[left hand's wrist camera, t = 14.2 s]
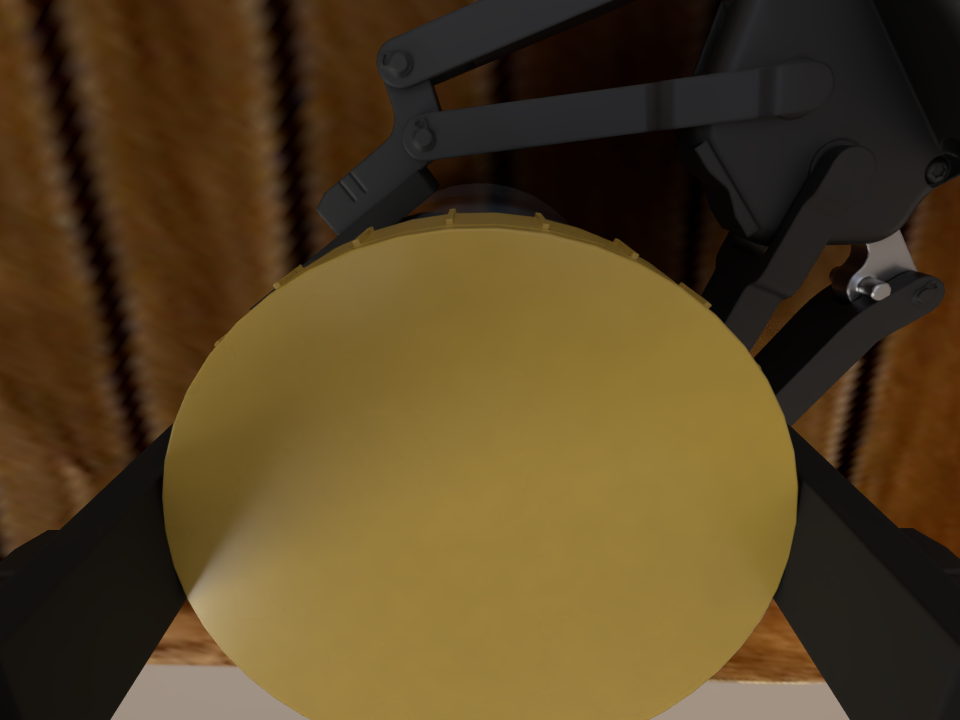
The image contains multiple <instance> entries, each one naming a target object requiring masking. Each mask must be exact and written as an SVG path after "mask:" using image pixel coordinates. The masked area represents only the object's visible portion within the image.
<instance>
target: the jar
mask: <svg viewBox="0 0 960 720" xmlns="http://www.w3.org/2000/svg"><path fill="white" fill-rule="evenodd" d="M450 209H456V213H504V214H512V215H521V216H530V217H535V213H541V214H542V215H543V217H544V218H545V219H546V220H550V221H553V222H557V223H561V224H565V225H569V226H571V225H570V224H569V223H568V222H567V221H566V220H565V219H564V218H563V217H562V216H561V215H560V214H559V213H558V212H557V211H556V210H554V209H553V208H552V207H550V206H549V205H548V204H547V203H545V202H543V201H541V200H540V199H538V198H536V197H535V196H533V195H530V194H528V193H526V192H523V191H521V190H518V189H515V188H511V187H507V186H503V185H496V184H488V183H475V184H464V185H457V186H452V187H449V188H445V189H442V190H439V191H436V192H435V193H434V194H433V195H431V196H430V197H429V198H428V199H426V200H425V201H424V202H423V203H421V204H420V205H419V206H418V207H417V208H415V209H414V210H413V211H412V212H410V213H409V214H408V215H407V216H405V217H404V218H403V219H402V220H400V221H399V222H398V223H397V224H399V223H402V222H406V221H409V220H413V219H420V218H426V217H433V216H439V215H446V214H448V213H449V210H450Z"/></svg>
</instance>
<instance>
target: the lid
mask: <svg viewBox="0 0 960 720" xmlns="http://www.w3.org/2000/svg"><path fill="white" fill-rule="evenodd" d="M273 287H274V288H275V289H276V290H274V291H273V292H272V293H270V294H269V295H268V296H267V297H266V298H265V299H263V300H262V301H261V302H260V303H259V304H258V305H256V306H255V307H254V308H253V309H252V310H251V311H249V312H248V313H247V314H246V315H245V316H244V317H243V318H241V319H240V320H239V321H238V322H237V323H236V324H235V325H234V326H233V327H232V328H231V330H230V331H229V332H228V333H227V334H225V335H224V336H223V337H222V338H220V339H219V340H218V341H217V342H216V343H215V345H214V346H215V348H214V349H213V351H212V352H211V353H210V354H209V355H208V357H207V359H206V360H205V362H204V364H203V365H202V367H201V368H200V370H199V372H198V373H197V375H196V377H195V378H194V380H193V381H192V383H191V385H190V386H189V388H188V390H187V392H186V395H185V397H184V399H183V402H182V404H181V407H180V409H179V412H178V414H177V416H176V419H175V421H174V424H173V427H172V431H171V436H170V440H169V444H168V449H167V453H166V457H165V462H164V477H163V492H162V502H163V513H164V524H165V531H166V536H167V540H168V544H169V548H170V553H171V557H172V561H173V565H174V568H175V570H176V573H177V575H178V578H179V580H180V582H181V585H182V587H183V590H184V592H185V594H186V597H187V599H188V601H189V602H190V604H191V606H192V607H193V609H194V611H195V612H196V614H197V616H198V617H199V619H200V621H201V623H202V624H203V626H204V627H205V629H206V630H207V631H208V633H209V634H210V635H211V636H212V638H213V639H214V640H215V642H216V643H217V644H218V645H219V647H220V648H221V649H222V651H223V652H224V653H225V654H226V655H227V656H228V657H229V658H230V659H231V660H232V661H233V662H234V663H235V664H236V665H237V666H238V667H239V668H240V669H241V670H242V671H243V672H244V673H245V674H246V675H247V676H248V677H249V678H250V679H252V680H253V681H254V682H255V683H257V684H258V685H259V686H260V687H262V688H263V689H264V690H265V691H267V692H268V693H269V694H270V695H272V696H273V697H274V698H276V699H277V700H279V701H280V702H282V703H284V704H285V705H287V706H288V707H290V708H291V709H293V710H295V711H296V712H298V713H300V714H301V715H303V716H304V717H306V718H308V719H310V720H649V719H651V718H653V717H655V716H657V715H659V714H661V713H663V712H665V711H666V710H668V709H669V708H670V707H672V706H673V705H675V704H677V703H678V702H679V701H681V700H682V699H684V698H685V697H687V696H688V695H690V694H691V693H693V692H694V691H695V690H696V689H698V688H699V687H700V686H701V685H702V684H704V683H705V682H706V681H707V680H708V679H709V678H711V677H712V676H713V675H714V674H715V673H717V672H718V671H719V670H720V669H721V668H722V667H723V666H724V665H725V663H726V662H727V661H728V660H729V659H730V658H731V657H732V656H733V655H734V654H735V653H736V652H737V651H738V650H739V648H740V647H741V646H742V645H743V644H744V642H745V641H746V640H747V638H748V637H749V635H750V634H751V633H752V631H753V630H754V629H755V627H756V626H757V624H758V623H759V622H760V620H761V619H762V617H763V615H764V613H765V612H766V610H767V608H768V606H769V604H770V602H771V600H772V599H773V597H774V595H775V593H776V591H777V589H778V587H779V584H780V581H781V579H782V576H783V573H784V570H785V568H786V565H787V562H788V558H789V554H790V549H791V545H792V540H793V536H794V531H795V527H796V522H797V504H798V481H797V472H796V463H795V454H794V449H793V445H792V441H791V438H790V434H789V431H788V427H787V423H786V420H785V416H784V414H783V411H782V409H781V407H780V405H779V403H778V401H777V398H776V396H775V394H774V392H773V390H772V388H771V386H770V383H769V381H768V379H767V378H766V376H765V375H764V373H763V372H762V370H761V367H760V366H759V364H757V363H756V361H755V360H754V359H753V357H752V356H751V354H750V353H749V351H748V350H747V348H746V347H745V345H744V344H743V343H742V342H741V341H740V340H739V339H738V338H737V337H736V336H735V335H734V334H733V332H732V331H731V330H730V329H729V328H728V327H727V326H726V325H725V324H724V323H723V322H722V321H721V320H720V319H719V317H718V316H717V315H716V314H714V313H713V312H712V311H711V310H709V308H710V307H711V306H712V305H711V304H710V303H709V302H708V301H706V300H705V299H704V298H702V297H701V296H700V295H698V294H697V293H696V292H694V291H693V290H691V289H690V288H689V287H687V286H686V285H685V284H683V283H682V282H681V283H680V284H679V285H678V284H677V283H675V282H674V281H673V280H671V279H670V278H669V277H667V276H666V275H665V274H663V273H662V272H661V271H660V270H658V269H657V268H656V267H654V266H653V265H652V264H650V263H649V262H647V261H645V260H644V259H642V258H640V257H639V254H637V253H636V252H635V251H634V250H632V249H631V248H630V247H628V246H627V245H626V244H624V243H623V242H622V241H620V240H619V239H616V238H615V240H614V241H613V242H612V241H609V240H607V239H604V238H602V237H599V236H597V235H594V234H592V233H589V232H587V231H585V230H582V229H580V228H577V227H573V226H569V225H565V224H561V223H557V222H553V221H550V220H546V219H545V218H544V217H543V215H542V214H541V213H535V217H530V216H521V215H512V214H504V213H456V209H450V210H449V213H448V214H446V215H439V216H433V217H426V218H420V219H413V220H409V221H406V222H402V223H399V224H396V225H392V226H389V227H386V228H382V229H379V230H375V231H374V228H373V227H370V228H367V229H366V230H365V231H364V232H363V233H362V234H360V235H359V236H358V237H357V238H356V239H354V240H352V241H350V242H348V243H346V244H343V245H341V246H339V247H337V248H335V249H333V250H332V251H330V252H328V253H327V254H325V255H324V256H322V257H321V258H319V259H317V260H316V261H314V262H313V263H311V264H310V265H308V266H306V267H305V268H303V267H302V265H299V266H298V267H297V268H295V269H294V270H293V271H291V272H290V273H288V274H287V275H286V276H284V277H283V278H282V279H280V280H279V281H278V282H276V283H275V284H274V285H273Z"/></svg>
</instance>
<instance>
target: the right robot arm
mask: <svg viewBox="0 0 960 720" xmlns="http://www.w3.org/2000/svg"><path fill="white" fill-rule="evenodd" d="M632 1H634V0H479V1H476V2H474V3H472V4H469V5H467V6H465V7H463V8H460V9H458V10H456V11H453V12H451V13H449V14H447V15H444V16H442V17H440V18H437V19H435V20H433V21H431V22H428V23H426V24H424V25H421V26H419V27H417V28H415V29H412V30H410V31H408V32H405V33H403V34H401V35H398V36H396V37H394V38H392V39H390V40H388V41H387V42H386V43H384V44H383V45H382V47H381V48H380V50H379V52H378V56H377V67H378V72H379V74H380V76H381V77H382V79H383V80H384V83H385V86H386V89H387V92H388V95H389V98H390V101H391V104H392V107H393V111H394V115H395V123H394V127H393V131H392V133H391V135H390V137H389V138H388V139H387V140H386V141H385V142H384V143H383V144H382V145H381V146H380V147H378V148H377V149H376V150H375V151H374V152H372V153H371V154H370V155H369V156H368V157H367V158H365V159H364V160H363V161H362V162H361V163H360V164H358V165H357V166H356V167H355V168H354V169H353V170H351V171H350V172H349V173H348V174H347V175H346V176H344V177H343V178H342V179H341V180H340V181H339V182H337V183H336V184H335V185H334V186H333V187H331V188H330V189H329V190H328V191H327V192H326V193H324V195H323V197H322V199H321V201H320V203H319V205H318V207H317V209H316V211H317V212H318V213H319V214H320V216H321V217H322V218H323V219H324V220H325V222H326V223H327V224H328V225H329V226H330V227H331V229H332V230H333V231H334V232H335V233H336V235H337V236H338V237H336V238H335V239H334V240H333V241H332V242H330V243H329V244H328V245H327V246H326V247H324V248H323V249H322V250H321V251H319V252H318V253H317V254H316V255H315V256H313V257H312V258H311V259H310V260H309V261H307V262H306V263H305V264H304V265H303V266H302V267H303V268H305V267H306V266H308V265H310V264H311V263H313V262H314V261H316V260H317V259H319V258H321V257H322V256H324V255H325V254H327V253H328V252H330V251H332V250H333V249H335V248H337V247H339V246H341V245H343V244H346V243H348V242H350V241H352V240H354V239H356V238H357V237H358V236H359V235H360V234H362V233H363V232H364V231H365V230H366V229H367V228H370V227H373V228H374V231H375V230H379V229H382V228H386V227H389V226H392V225H396V224H397V223H398V222H399V221H400V220H402V219H403V218H404V217H405V216H407V215H408V214H409V213H410V212H412V211H413V210H414V209H415V208H417V207H418V206H419V205H420V204H421V203H423V202H424V201H425V200H426V199H428V198H429V197H430V196H431V195H433V194H434V193H435V192H436V190H437V189H438V188H439V186H440V184H439V183H438V181H437V180H436V179H435V177H434V176H433V175H432V173H431V172H430V171H429V169H428V168H427V167H426V166H428V165H429V164H430V163H431V162H432V161H434V160H437V159H445V158H452V157H460V156H468V155H475V154H483V153H491V152H498V151H506V150H513V149H521V148H529V147H536V146H544V145H552V144H559V143H567V142H574V141H582V140H590V139H597V138H605V137H613V136H620V135H628V134H635V133H643V132H651V131H661V130H670V129H675V135H676V141H677V144H676V145H675V146H674V147H673V149H674V151H675V152H676V154H677V155H678V157H679V159H680V160H681V162H682V164H683V165H684V167H685V168H686V169H687V170H688V171H689V172H690V173H692V174H693V175H694V176H695V177H696V178H697V179H698V180H699V181H701V182H702V183H703V185H704V188H705V192H706V195H707V199H708V203H709V206H710V209H711V211H712V213H713V214H714V216H715V218H716V219H717V221H718V222H719V224H720V226H721V227H722V228H724V229H726V230H729V233H728V235H727V237H726V239H725V240H724V242H723V244H722V246H721V248H720V250H719V252H718V254H717V257H716V269H715V271H714V273H713V275H712V277H711V279H710V281H709V282H708V284H707V286H706V288H705V290H704V291H703V293H702V295H701V297H702V298H704V299H705V300H706V301H708V302H709V303H710V304H711V305H712V306H711V307H710V308H709V310H711V311H712V312H713V313H714V314H716V315H717V316H718V317H719V319H720V320H721V321H722V322H723V323H724V324H725V325H726V326H727V327H728V328H729V329H730V330H731V331H732V332H733V334H734V335H735V336H736V337H737V338H738V339H739V340H740V341H741V342H742V343H743V344H744V345H745V347H746V348H747V350H748V351H749V352H750V351H751V349H752V347H753V346H754V344H755V342H756V341H757V339H758V337H759V336H760V334H761V332H762V331H763V329H764V327H765V326H766V324H767V322H768V321H769V319H770V318H771V316H772V314H773V313H774V311H775V309H776V308H777V306H778V305H779V303H780V302H781V301H782V300H784V299H786V298H788V297H791V296H792V295H793V294H795V293H796V292H797V290H798V289H799V288H800V286H801V285H802V283H803V281H804V280H805V278H806V276H807V275H808V273H809V271H810V270H811V268H812V267H813V265H814V263H815V262H816V260H817V258H818V257H819V255H820V254H821V252H822V250H823V249H824V247H825V245H849V244H851V252H850V255H849V257H848V259H847V260H846V262H845V263H844V264H843V265H841V266H837V267H835V268H833V269H832V270H831V272H830V274H829V279H830V281H831V282H832V283H831V285H829V286H828V287H826V288H825V289H823V290H822V291H820V292H819V293H818V294H817V295H815V296H814V297H813V298H812V299H810V300H809V301H808V302H807V303H806V304H805V305H804V306H803V307H802V308H801V309H800V310H799V311H798V312H797V313H796V314H795V315H794V316H793V317H792V318H791V319H790V320H789V321H788V322H787V324H786V325H785V326H784V327H783V328H782V329H781V330H780V331H779V332H778V333H777V334H776V335H775V336H774V337H773V338H772V339H771V340H770V341H769V342H768V344H767V345H766V346H765V347H764V348H763V349H762V350H761V351H760V352H759V353H758V354H757V355H756V356H755V357H754V358H753V359H754V360H755V361H756V363H757V364H759V366H760V367H761V370H762V372H763V373H764V375H765V376H766V378H767V379H768V381H769V383H770V386H771V388H772V390H773V392H774V394H775V396H776V398H777V401H778V403H779V405H780V407H781V409H782V411H783V414H784V416H785V420H786V423H787V424H789V425H790V426H792V425H793V424H794V423H795V422H796V421H797V420H798V419H799V418H800V417H801V416H802V415H803V414H804V413H805V412H806V411H807V410H808V409H809V408H810V407H811V406H812V405H813V404H814V403H815V402H816V401H817V400H818V399H819V398H820V397H821V396H822V395H823V394H824V393H825V392H826V391H827V390H828V389H829V388H830V387H831V386H832V385H833V384H834V383H835V382H836V381H837V380H838V379H839V378H840V377H841V376H842V375H844V374H845V373H846V372H847V371H848V370H849V369H850V368H851V367H852V366H853V365H854V364H855V363H856V362H857V361H858V360H859V359H860V358H861V357H862V356H863V355H864V354H865V353H866V352H867V351H868V350H869V349H870V348H871V347H872V346H873V345H874V344H875V343H876V342H877V341H878V340H880V339H882V338H884V337H886V336H887V335H889V334H891V333H893V332H895V331H896V330H898V329H900V328H902V327H904V326H906V325H907V324H909V323H911V322H913V321H915V320H916V319H918V318H920V317H922V316H924V315H925V314H927V313H929V312H931V311H932V310H933V309H935V308H936V307H937V306H938V305H939V304H940V302H941V301H942V299H943V296H944V293H945V290H944V284H943V283H942V282H941V280H940V279H938V278H936V277H934V276H931V275H927V274H924V273H921V272H919V271H917V269H916V268H915V265H914V263H913V261H912V258H911V256H910V253H909V251H908V249H907V246H906V244H905V241H904V239H903V237H902V234H901V232H900V230H899V229H900V228H901V227H902V226H903V225H904V224H905V223H906V222H907V220H908V219H909V217H910V216H911V214H912V212H913V211H914V210H915V208H916V207H917V206H918V204H919V203H920V202H921V201H922V200H923V199H924V198H925V197H926V196H927V195H928V194H929V193H930V192H931V191H932V190H933V189H935V188H936V187H938V186H940V185H941V184H943V183H945V182H947V181H949V180H951V179H953V178H955V177H957V176H959V175H960V0H721V3H720V5H719V7H718V10H717V12H716V15H715V18H714V20H713V23H712V25H711V28H710V31H709V33H708V36H707V38H706V41H705V44H704V46H703V49H702V51H701V54H700V56H699V59H698V62H697V64H696V67H695V69H694V72H693V75H692V77H686V78H679V79H672V80H665V81H660V82H654V83H648V84H640V85H633V86H626V87H618V88H611V89H603V90H596V91H588V92H581V93H574V94H566V95H559V96H551V97H544V98H537V99H529V100H522V101H514V102H507V103H499V104H492V105H485V106H477V107H470V108H462V109H455V110H447V111H442V110H441V106H440V103H439V100H438V97H437V94H436V90H435V87H434V85H437V84H439V83H442V82H444V81H446V80H449V79H451V78H453V77H456V76H458V75H461V74H463V73H465V72H468V71H470V70H472V69H475V68H477V67H480V66H482V65H484V64H487V63H489V62H491V61H494V60H496V59H498V58H501V57H503V56H506V55H508V54H510V53H513V52H515V51H517V50H520V49H522V48H525V47H527V46H529V45H532V44H534V43H536V42H539V41H541V40H544V39H546V38H548V37H551V36H553V35H555V34H558V33H560V32H563V31H565V30H567V29H570V28H572V27H574V26H577V25H579V24H581V23H584V22H586V21H589V20H591V19H593V18H596V17H598V16H600V15H603V14H605V13H608V12H610V11H612V10H615V9H617V8H619V7H622V6H624V5H626V4H628V3H630V2H632ZM767 246H769V248H768V249H767V251H766V252H765V250H766V248H767ZM764 252H765V253H764ZM274 290H276V289H274ZM274 290H272V291H271V292H270V293H272V292H273V291H274ZM270 293H269V294H270ZM269 294H267V295H266V296H265V297H264V298H263V299H265V298H266V297H267V296H268V295H269ZM263 299H261V300H260V301H259V302H258V303H257V304H255V305H254V306H253V307H252V308H251V309H250V310H252V309H253V308H254V307H255V306H256V305H258V304H259V303H260V302H261V301H262V300H263Z"/></svg>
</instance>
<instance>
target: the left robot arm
mask: <svg viewBox="0 0 960 720" xmlns="http://www.w3.org/2000/svg"><path fill="white" fill-rule="evenodd" d="M173 424H174V423H173ZM173 424H172V425H171V426H170V427H169V428H168V429H166V430H165V431H164V432H163V433H162V434H161V435H160V436H159V437H158V438H157V439H156V440H155V441H154V442H153V443H152V444H151V445H149V446H148V447H147V448H146V449H145V450H144V451H143V452H142V453H141V454H140V455H139V456H138V457H137V458H136V459H135V460H134V461H133V462H131V463H130V464H129V465H128V466H127V467H126V468H125V469H124V470H123V471H122V472H121V473H120V474H119V475H118V476H117V477H116V478H114V479H113V480H112V481H111V482H110V483H109V484H108V485H107V486H106V487H105V488H104V489H103V490H102V491H101V492H100V493H99V494H97V495H96V496H95V497H94V498H93V499H92V500H91V501H90V502H89V503H88V504H87V505H86V506H85V507H84V508H83V509H82V510H80V511H79V512H78V513H77V514H76V515H75V516H74V517H73V518H72V519H71V520H70V521H69V522H68V523H67V524H66V525H65V526H64V527H62V528H61V529H60V530H47V531H46V532H44V533H42V534H41V535H39V536H37V537H35V538H34V539H32V540H30V541H28V542H27V543H25V544H23V545H21V546H20V547H18V548H16V549H15V550H13V551H12V552H11V553H10V554H9V555H8V556H7V557H6V558H4V559H3V560H2V561H1V562H0V720H110V719H111V718H112V716H113V715H114V713H115V711H116V710H117V708H118V707H119V705H120V704H121V702H122V700H123V699H124V697H125V696H126V694H127V692H128V691H129V689H130V688H131V686H132V685H133V683H134V681H135V680H136V678H137V677H138V675H139V673H140V672H141V670H142V669H143V667H144V666H145V664H146V662H147V661H148V659H149V658H150V656H151V654H152V653H153V651H154V650H155V648H156V647H157V645H158V643H159V642H160V640H161V639H162V637H163V635H164V634H165V632H166V631H167V629H168V628H169V626H170V624H171V623H172V621H173V620H174V618H175V616H176V615H177V613H178V612H179V610H180V609H181V607H182V605H183V604H184V602H185V601H186V599H187V597H186V594H185V592H184V590H183V587H182V585H181V582H180V580H179V578H178V575H177V573H176V570H175V568H174V565H173V561H172V557H171V553H170V548H169V544H168V540H167V536H166V531H165V524H164V513H163V502H162V492H163V477H164V462H165V457H166V453H167V449H168V444H169V440H170V436H171V431H172V427H173ZM787 427H788V431H789V434H790V438H791V441H792V445H793V449H794V454H795V463H796V472H797V481H798V504H797V522H796V527H795V531H794V536H793V540H792V545H791V549H790V554H789V558H788V562H787V565H786V568H785V570H784V573H783V576H782V579H781V581H780V584H779V587H778V589H777V591H776V593H775V595H774V597H773V599H774V600H775V602H776V603H777V605H778V606H779V608H780V610H781V611H782V613H783V614H784V616H785V618H786V619H787V621H788V622H789V624H790V625H791V627H792V629H793V630H794V632H795V633H796V635H797V637H798V638H799V640H800V641H801V643H802V644H803V646H804V648H805V649H806V651H807V652H808V654H809V656H810V657H811V659H812V660H813V662H814V663H815V665H816V667H817V668H818V670H819V671H820V673H821V675H822V676H823V678H824V679H825V681H826V682H827V684H828V686H829V687H830V689H831V690H832V692H833V694H834V695H835V697H836V698H837V700H838V702H839V703H840V705H841V706H842V708H843V709H844V711H845V712H846V714H847V716H848V717H849V719H850V720H960V559H959V558H958V557H957V556H956V555H954V554H953V553H952V552H951V551H950V550H949V549H948V548H946V547H945V546H943V545H941V544H940V543H938V542H936V541H934V540H933V539H931V538H929V537H927V536H926V535H924V534H922V533H920V532H919V531H917V530H915V529H913V528H898V527H897V526H896V525H895V524H894V523H893V522H892V521H890V520H889V519H888V518H887V517H886V516H885V515H884V514H883V513H882V512H881V511H880V510H879V509H878V508H877V507H876V506H875V505H873V504H872V503H871V502H870V501H869V500H868V499H867V498H866V497H865V496H864V495H863V494H862V493H861V492H860V491H859V490H858V489H856V488H855V487H854V486H853V485H852V484H851V483H850V482H849V481H848V480H847V479H846V478H845V477H844V476H843V475H842V474H841V473H839V472H838V471H837V470H836V469H835V468H834V467H833V466H832V465H831V464H830V463H829V462H828V461H827V460H826V459H825V458H824V457H822V456H821V455H820V454H819V453H818V452H817V451H816V450H815V449H814V448H813V447H812V446H811V445H810V444H809V443H808V442H807V441H806V440H804V439H803V438H802V437H801V436H800V435H799V434H798V433H797V432H796V431H795V430H794V429H793V428H792V427H791V426H790V425H789V424H787Z"/></svg>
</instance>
